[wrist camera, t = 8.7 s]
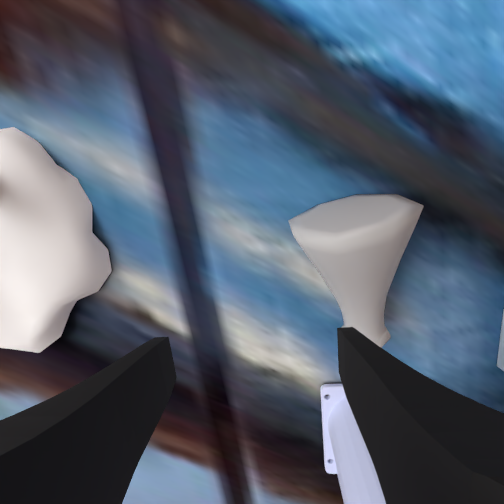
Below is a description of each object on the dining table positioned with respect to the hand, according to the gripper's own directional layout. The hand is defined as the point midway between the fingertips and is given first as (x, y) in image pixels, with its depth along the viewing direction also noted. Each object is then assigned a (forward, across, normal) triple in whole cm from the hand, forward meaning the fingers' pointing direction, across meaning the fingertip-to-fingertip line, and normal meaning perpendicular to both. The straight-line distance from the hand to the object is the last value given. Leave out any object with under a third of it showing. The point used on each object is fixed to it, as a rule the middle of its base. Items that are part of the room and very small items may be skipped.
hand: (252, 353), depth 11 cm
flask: (+6, -6, -5) cm, 10 cm away
